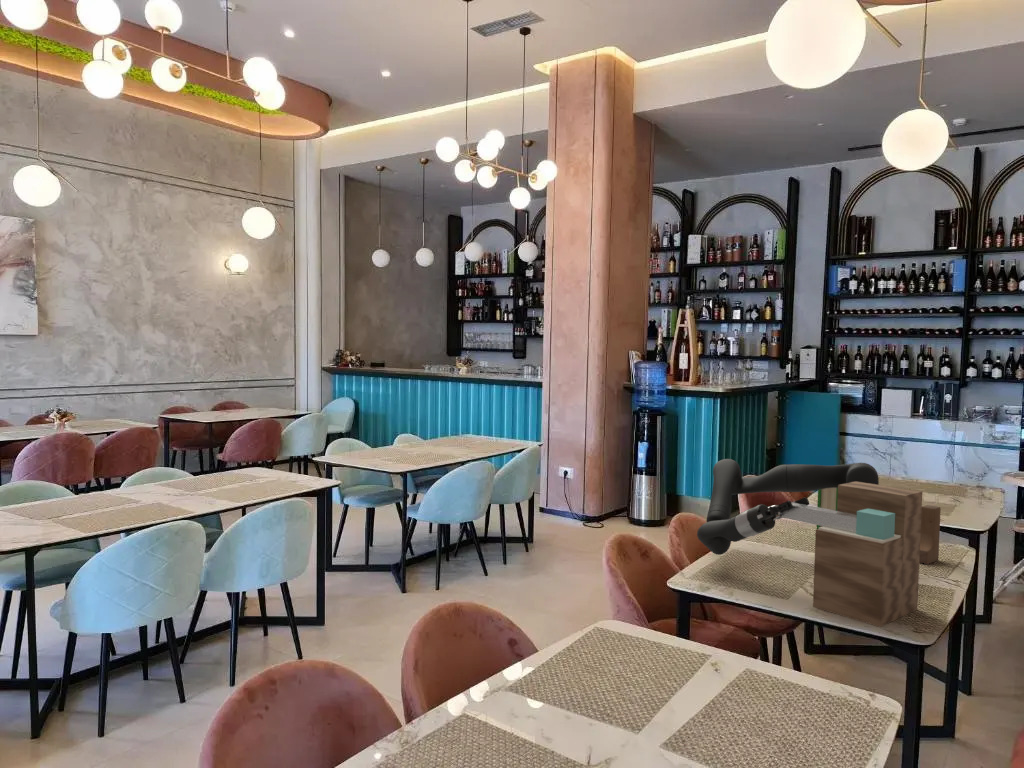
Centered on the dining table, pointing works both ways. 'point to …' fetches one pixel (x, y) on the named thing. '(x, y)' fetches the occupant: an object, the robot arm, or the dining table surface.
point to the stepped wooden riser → (870, 558)
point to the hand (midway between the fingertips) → (799, 502)
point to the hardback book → (827, 499)
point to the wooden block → (929, 534)
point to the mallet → (846, 520)
